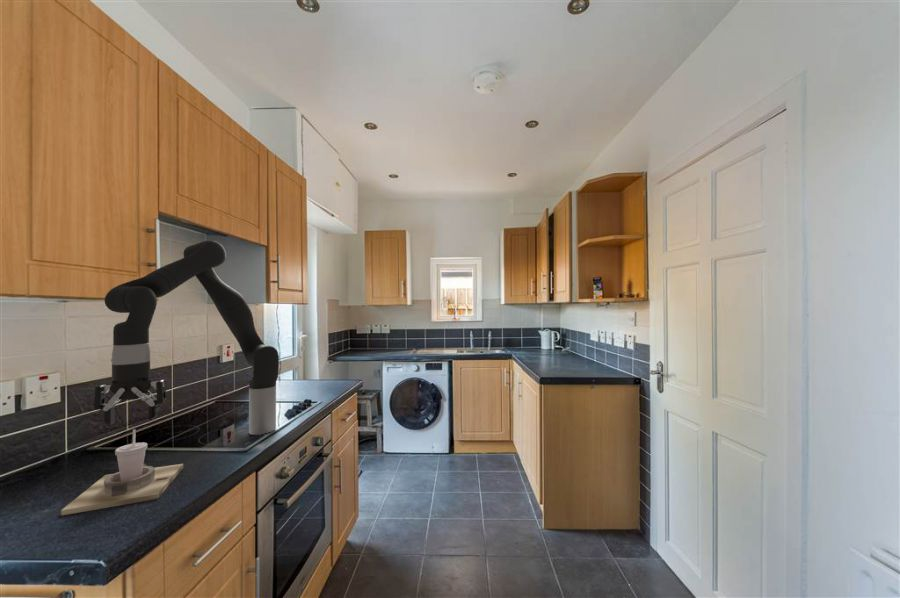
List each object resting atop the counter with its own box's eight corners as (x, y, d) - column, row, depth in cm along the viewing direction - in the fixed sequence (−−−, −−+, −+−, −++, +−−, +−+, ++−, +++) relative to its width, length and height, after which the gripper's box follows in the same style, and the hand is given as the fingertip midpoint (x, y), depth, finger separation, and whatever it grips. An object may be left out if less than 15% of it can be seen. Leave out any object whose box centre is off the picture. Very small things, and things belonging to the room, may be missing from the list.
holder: (105, 479, 96) (105, 466, 96) (183, 467, 102) (183, 455, 103) (61, 515, 79) (61, 499, 79) (157, 498, 86) (158, 483, 86)
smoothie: (153, 478, 94) (154, 427, 94) (127, 491, 87) (127, 435, 88) (135, 476, 95) (135, 425, 95) (107, 488, 89) (108, 434, 89)
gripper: (169, 357, 98) (170, 414, 97) (104, 361, 92) (104, 421, 92) (158, 361, 91) (159, 422, 90) (87, 365, 85) (87, 430, 85)
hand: (131, 421), depth 91 cm, fingers open, 8 cm apart
